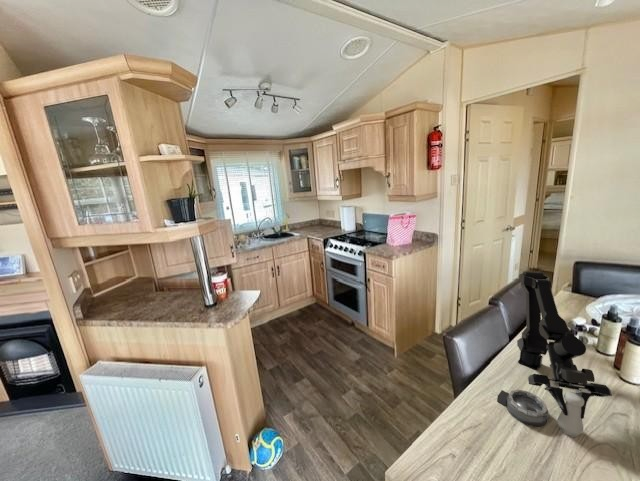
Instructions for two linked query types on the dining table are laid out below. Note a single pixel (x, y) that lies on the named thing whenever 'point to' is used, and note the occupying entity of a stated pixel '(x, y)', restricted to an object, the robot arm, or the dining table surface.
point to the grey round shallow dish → (525, 407)
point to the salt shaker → (572, 415)
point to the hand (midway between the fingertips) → (574, 417)
